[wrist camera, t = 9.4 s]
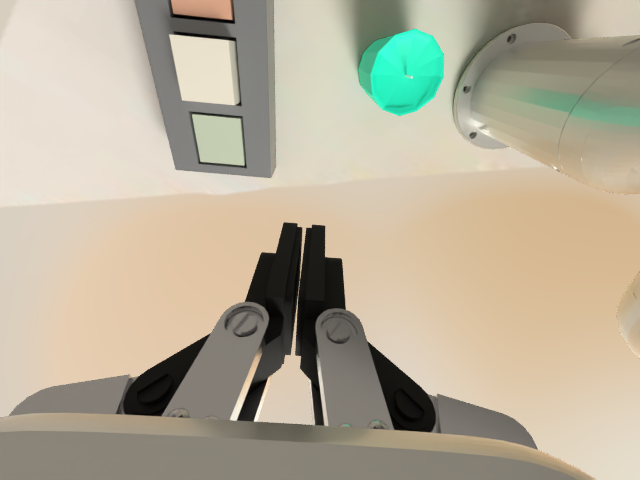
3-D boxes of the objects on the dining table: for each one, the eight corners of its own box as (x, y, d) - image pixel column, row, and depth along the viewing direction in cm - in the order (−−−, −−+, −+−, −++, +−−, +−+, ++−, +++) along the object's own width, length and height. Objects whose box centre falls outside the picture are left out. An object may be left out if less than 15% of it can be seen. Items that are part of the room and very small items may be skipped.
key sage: (247, 113, 32) (240, 118, 30) (250, 157, 35) (244, 165, 33) (202, 109, 32) (191, 114, 29) (209, 153, 35) (200, 161, 33)
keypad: (272, -67, 24) (264, -86, 21) (276, 167, 37) (271, 178, 33) (139, -82, 24) (109, -104, 20) (189, 159, 36) (175, 169, 33)
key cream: (238, 41, 27) (228, 40, 24) (242, 100, 30) (234, 105, 27) (184, 36, 27) (169, 34, 24) (194, 96, 30) (181, 100, 27)
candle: (349, 56, 29) (360, 58, 20) (401, 23, 28) (442, 6, 18) (369, 109, 32) (388, 132, 22) (417, 82, 31) (460, 95, 21)
